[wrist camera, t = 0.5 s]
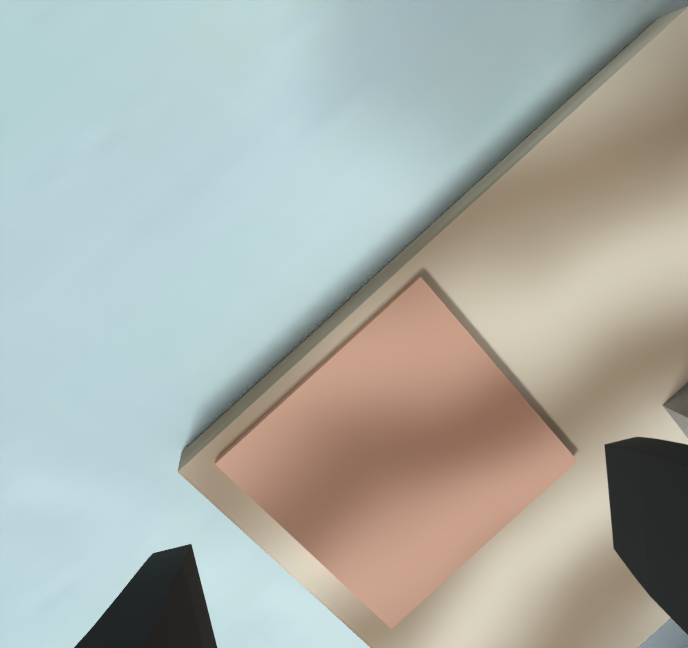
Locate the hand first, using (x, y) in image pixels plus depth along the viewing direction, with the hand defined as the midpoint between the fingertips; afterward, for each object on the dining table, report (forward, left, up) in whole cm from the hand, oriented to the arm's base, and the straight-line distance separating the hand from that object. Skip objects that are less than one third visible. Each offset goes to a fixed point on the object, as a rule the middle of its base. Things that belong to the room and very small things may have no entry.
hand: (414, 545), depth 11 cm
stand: (-6, -5, -10) cm, 13 cm away
